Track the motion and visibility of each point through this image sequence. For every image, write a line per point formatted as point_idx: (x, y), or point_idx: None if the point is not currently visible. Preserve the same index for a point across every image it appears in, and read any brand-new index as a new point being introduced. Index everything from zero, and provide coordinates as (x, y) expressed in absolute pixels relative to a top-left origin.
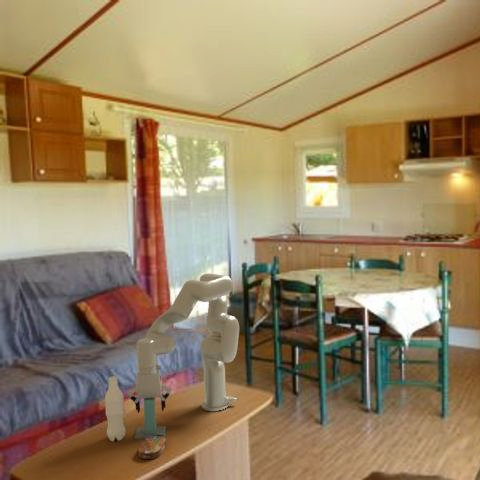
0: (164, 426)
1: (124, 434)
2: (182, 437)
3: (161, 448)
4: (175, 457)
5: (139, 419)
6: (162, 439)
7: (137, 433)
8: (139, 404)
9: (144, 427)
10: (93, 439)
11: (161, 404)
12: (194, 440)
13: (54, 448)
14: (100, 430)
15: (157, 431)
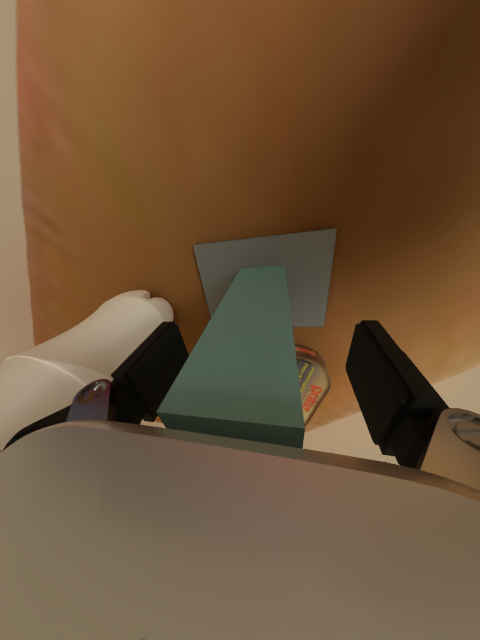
0: (325, 236)
1: (172, 319)
2: (394, 331)
3: (310, 412)
4: (344, 417)
5: (158, 91)
6: (315, 380)
7: (212, 296)
8: (156, 369)
9: (225, 242)
10: (91, 309)
11: (364, 417)
12: (437, 356)
13: (41, 340)
14: (62, 245)
15: (290, 287)
